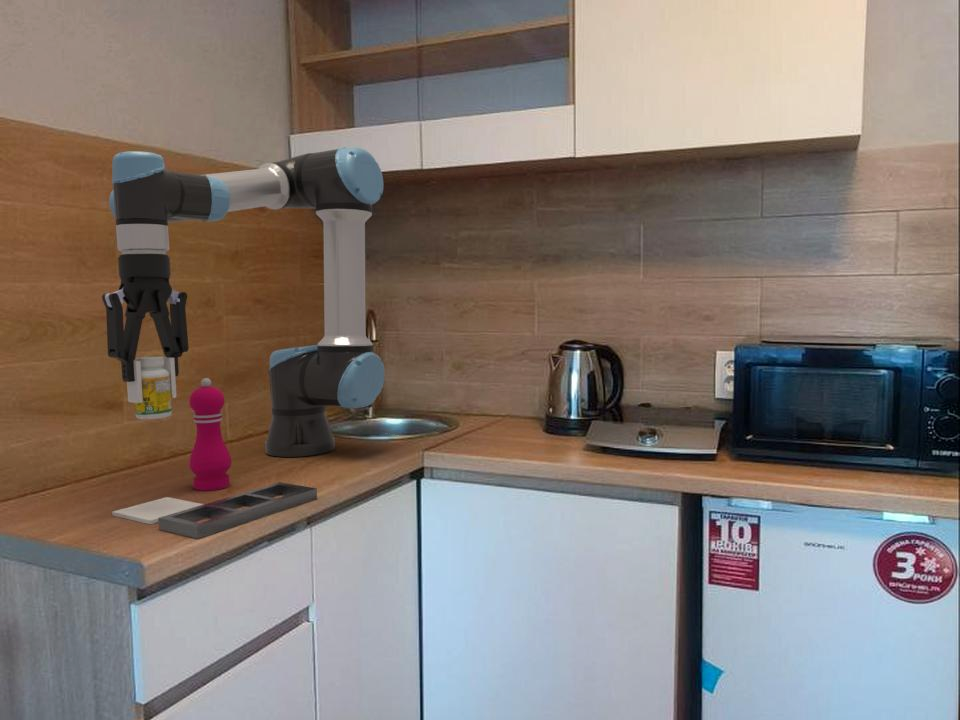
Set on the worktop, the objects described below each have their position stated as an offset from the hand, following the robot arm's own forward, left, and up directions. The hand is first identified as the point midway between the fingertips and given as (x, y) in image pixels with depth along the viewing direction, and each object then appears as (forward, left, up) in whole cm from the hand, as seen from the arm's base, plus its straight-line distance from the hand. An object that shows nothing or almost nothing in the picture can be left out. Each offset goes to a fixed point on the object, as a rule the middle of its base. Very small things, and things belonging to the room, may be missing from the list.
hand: (152, 399), depth 122 cm
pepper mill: (-15, -6, -19) cm, 25 cm away
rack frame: (-6, +13, -18) cm, 23 cm away
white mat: (0, 0, -18) cm, 18 cm away
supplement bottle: (0, 0, -3) cm, 3 cm away
